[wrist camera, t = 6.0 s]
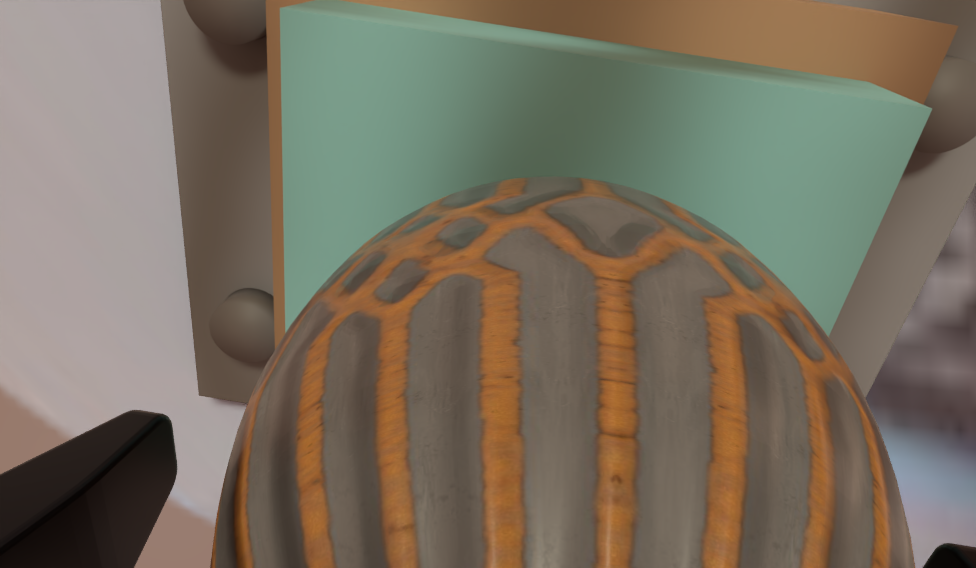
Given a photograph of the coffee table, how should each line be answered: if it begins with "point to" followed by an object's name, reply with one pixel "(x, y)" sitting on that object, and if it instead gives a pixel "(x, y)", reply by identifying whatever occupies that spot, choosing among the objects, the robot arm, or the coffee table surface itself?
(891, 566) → the vase
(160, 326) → the coffee table surface
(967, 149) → the stacked plates with bolts
